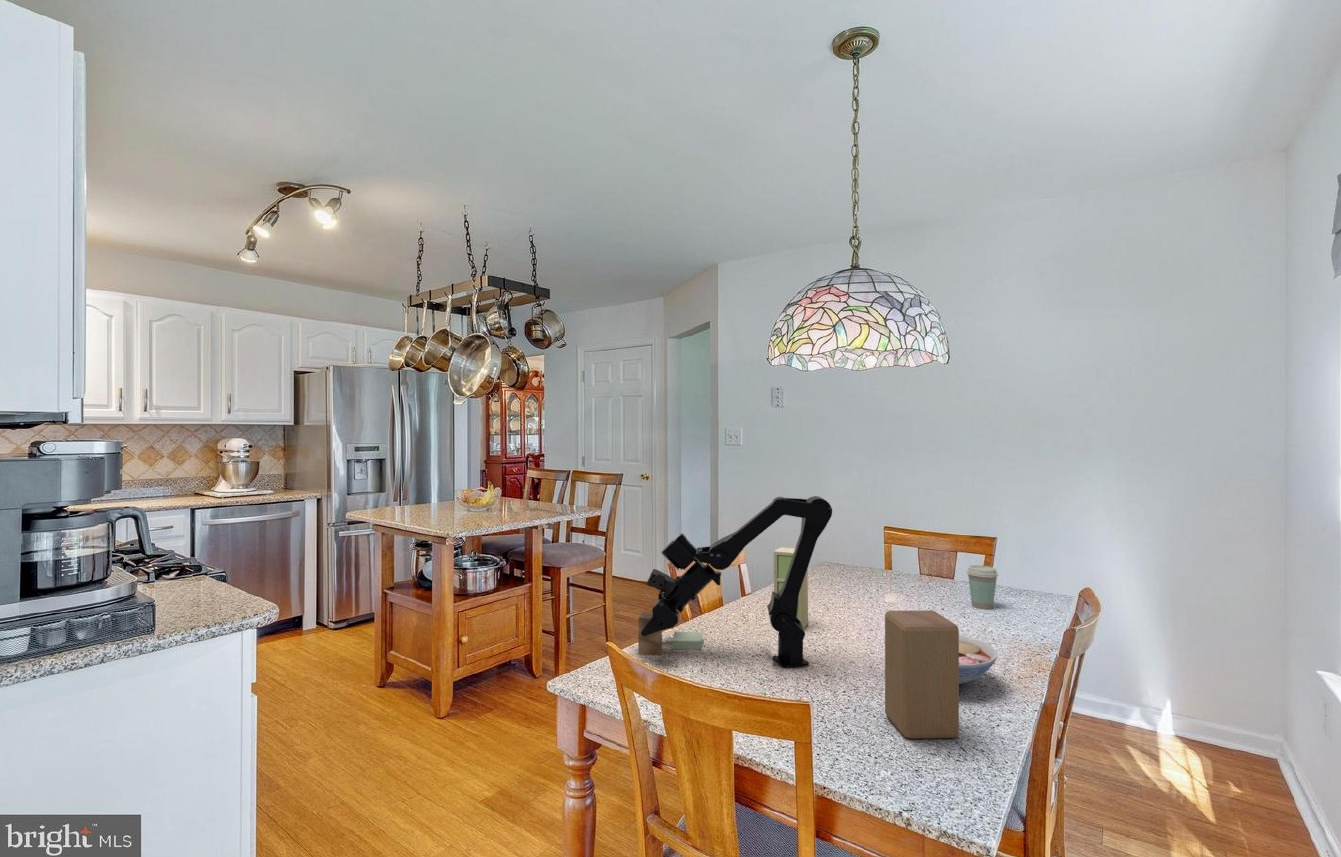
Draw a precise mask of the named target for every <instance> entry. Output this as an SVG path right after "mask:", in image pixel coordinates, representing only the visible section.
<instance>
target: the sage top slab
mask: <svg viewBox="0 0 1341 857" xmlns="http://www.w3.org/2000/svg"><path fill="white" fill-rule="evenodd" d="M702 639H703V631H702V632H701V631H676V630H675V631H674V632H673V637H672V639H671V649H672V650H691V651H692V650H693V651H695V650H696V651H702V645H703V644H702Z"/></svg>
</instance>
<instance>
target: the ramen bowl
mask: <svg viewBox="0 0 1341 857" xmlns="http://www.w3.org/2000/svg"><path fill="white" fill-rule="evenodd" d="M883 643H884V644H885V638H884V640H883ZM998 657H999V656H998V653H997V649H995V647H993V646H991V645H990V644H988V643H987V642H985V641H982V640H980V639H977V638H975V637H972V636H969V635H964V634H961V633H959V685H960V684H965V683H969V682H973V681H975V680H978V679H979V678H981V677H982V676H983V675H984V674H986V673H987V672H988V671H990V668H991V667H992V666H993V665H994V664H995V662H996V661H997V658H998Z"/></svg>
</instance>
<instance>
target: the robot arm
mask: <svg viewBox="0 0 1341 857" xmlns="http://www.w3.org/2000/svg"><path fill="white" fill-rule="evenodd" d="M783 516H789V517H790V516H791V517H794V518H801V525H800V534H799V537H798V539H797V542H796V545H795V547H794V548H795V551H794V554H793V557H792V560H791V563H790V566H789V569H788V572H787V575H786V578H785V581H784V584H783V587H782V588H781V590H780V591H779V593H778V594H777V593H775V592H774V590H773V591H771V596H770V597H771V598H770V601H769V603H768V604H767V605H766V606H767V607H766V608H767V612H768V615H769V620H770V621H769V622H770V625H771V627H772V628H773V629H774V631H776V632H778V635H777V636H778V638H777V640H778V641H777V648H778V649H777V654H776V655H773V656H772V659H773V660H774V661H775V662H776V663H778V664H779V665H780V666H781V667H782V668H794V667H804V666H809V665H810V662H809V661H807V659H805V658H804V639H805V636H806V632H805V628H804V629H803V626H802V623H801V621H800V620H799V619H798V618H797V609H798V596H799V592H800V589H801V586H802V583H803V580H804V577H805V574H806V571H807V568H808V569H809V564H810V562H811V559H812V556H813V552H814V550H815V547H816V544H817V541H818V539H819V537H820V536H821V534H822V533H823V532H824V531H825V529H826V527H827V525H828V523H829V522H830V521H831V518H832V516H833V507H832V505H831V504H830V502H829V501H827V500H826V499H825V498H823V497H821V496H817V495H815V496H810V497H808V498H796V497H795V498H793V497H792V498H791V497H783V496H777V497H775V498H774V499H773V500H772V501H771V503H769V504H768V505H766V507H764V508H763V509H762V510H760V512H758V513H756V514H755V515H754V516H753V517H752V518H750V519H749V520H748V521H747V522H746V523H745V524H743V525H742V526H741V527H740V528H738V529H737V530H735V532H733V533H730V534H728V535H726V536H724V537H721V538H720V539H718V540H717V541H715V542H714V543H712V544H711V545H709V546H701V547H695V546H694V545H693V543H692V542H690V540H689V539H688V538H687V536H686V535H685V534H684V533H680V534H679V536H677V537H676V538H675V539H673V540H671V541H670V542H669V543H668V544H667V545H666V546H665V547H664V548H663V549H662V550H661V552H660V553H661V555H662V556H664V558H666V559H667V561H669V562H670V563H671V565H672V566H674V568H675V569H676V570H679V569H680V570H683V571H684V570H686V569H687V568H688V567H689V566H690V567H689V568H688V569H687V570H686V571H685V572H684V573H683V574H681V575H677V577H675V578H673V577H671V575H669V574H666V573H665V572H663V571H660V570H658V569H655V568H653V569H652V571H651V573H650V575H649V578H648V579H647V581H646V585H647V586H648V587H651V588H654V589H656V590H658V591H659V593H658V596H657V597H658V599H657V601H656V602H655V604H654V605H653V606H652V609H651V612H653V616H652V617H651V619H650V620H649V622H648V623H647V624H646V626H645V627H644V629H643V630H642V632H641V634H642V636H647V635H649V634H652V633H655V632H658V631H661V630H662V631H663V630H667V629H674V628H675V626H677V624H678V623H679V620H680V614H681V613H682V612H684V609H685V608H686V606H687V605H688V604H689V603H690V602H691V601H694V600H696V599H697V596H698V595H699V594H700V593H701V592H702V591H703V589H705V588H706V587H707V586H708V585H709V584H710V583H711V582H712V581H713V583H715V584H716V585H717V586H720V585H721V577H722V571H724V570H726V569H728V568H729V567H730V566H731V564H732V563H733V562H734V561H735V560H736V559H737V558H738V556H739V555H740V553H741V552H742V551H743V550H744V548H745V547H747V545H749V544H750V543H751V542H752V541H753V540H755V539H756V538H757V537H758V536H760V535H761V534H762V533H763V532H764V531H766V530H767V529H768V528H769V527H771V526H772V525H773V524H774V523H776V522H777V521H778V520H779V519H780V518H781V517H783ZM693 562H694V563H693ZM692 563H693V564H692ZM691 564H692V565H691ZM716 570H718V571H716ZM720 570H721V571H720Z"/></svg>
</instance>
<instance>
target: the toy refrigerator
mask: <svg viewBox="0 0 1341 857" xmlns="http://www.w3.org/2000/svg"><path fill="white" fill-rule="evenodd" d="M795 548H796V547H785V546H784V547H781V546H780V547H778V548H777V549H775V550H773V591H774V592H775V593H777V594H778V593H779V591H780V590H781V588H782V587H783V584H784V581H785V578H786V575H787V572H788V569H789V566H790V563H791V560H792V557H793V554H794V551H795ZM808 569H809V567H808V568H807V571H806V574H805V577H804V580H803V583H802V586H801V589H800V592H799V596H798V609H797V618H798V619H799V620H800V621H801V623H802V626H803V629H804V630H805V628H806V626H807V625H808V624H809V591H808V590H809V589H808V587H809V586H808V585H809V584H808V583H809V582H808V581H809V580H808V579H809V576H808V574H809V573H808V571H809V570H808Z"/></svg>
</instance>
